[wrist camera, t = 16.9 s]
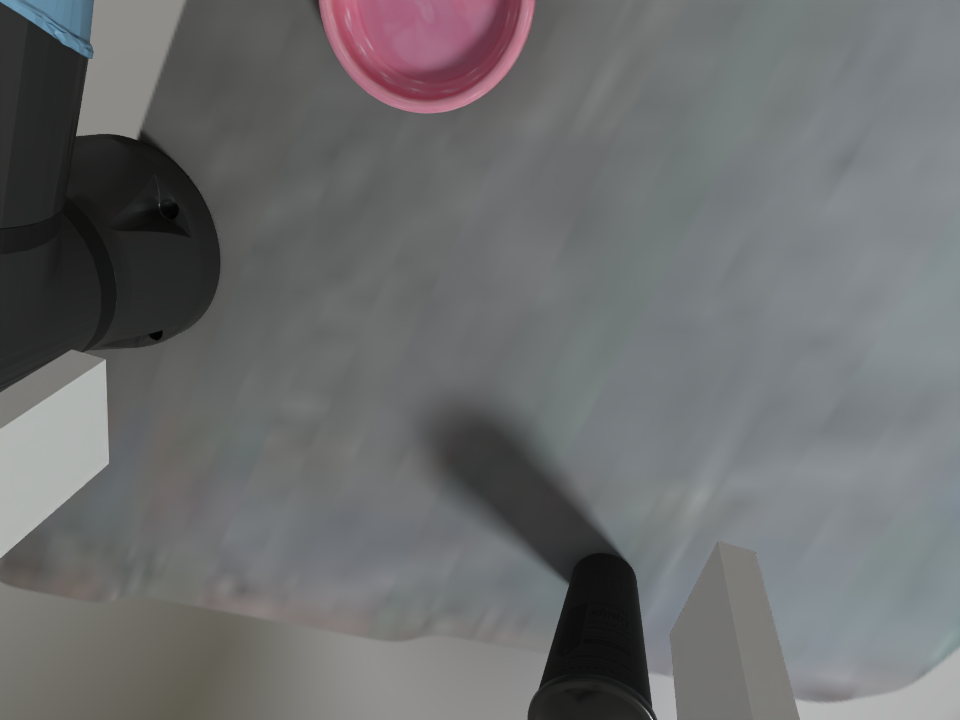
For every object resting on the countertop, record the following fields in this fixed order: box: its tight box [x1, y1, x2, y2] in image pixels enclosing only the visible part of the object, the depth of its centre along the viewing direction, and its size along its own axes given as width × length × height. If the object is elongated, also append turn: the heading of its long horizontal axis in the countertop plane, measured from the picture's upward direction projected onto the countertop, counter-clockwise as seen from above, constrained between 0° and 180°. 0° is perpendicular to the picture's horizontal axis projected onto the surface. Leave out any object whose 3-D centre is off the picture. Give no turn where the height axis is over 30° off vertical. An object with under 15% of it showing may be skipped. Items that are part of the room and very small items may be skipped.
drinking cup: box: [528, 554, 657, 720], centre depth 44 cm, size 8×8×20 cm
